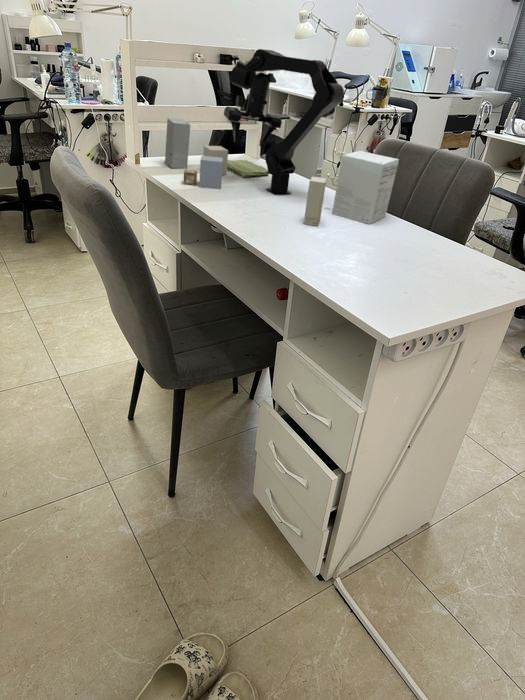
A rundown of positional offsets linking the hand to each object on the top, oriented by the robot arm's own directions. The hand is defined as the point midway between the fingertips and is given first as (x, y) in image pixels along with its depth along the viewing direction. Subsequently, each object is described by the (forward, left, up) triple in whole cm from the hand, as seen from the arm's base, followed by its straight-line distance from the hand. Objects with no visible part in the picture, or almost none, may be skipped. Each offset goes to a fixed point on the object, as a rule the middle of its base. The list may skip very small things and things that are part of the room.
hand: (247, 144), depth 167 cm
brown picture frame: (0, +20, -13) cm, 24 cm away
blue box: (-3, +14, -13) cm, 19 cm away
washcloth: (+15, -7, -13) cm, 22 cm away
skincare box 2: (-43, -2, -13) cm, 45 cm away
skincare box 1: (+23, +17, -13) cm, 32 cm away
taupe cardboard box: (+13, +6, -13) cm, 19 cm away
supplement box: (-39, -22, -13) cm, 46 cm away
